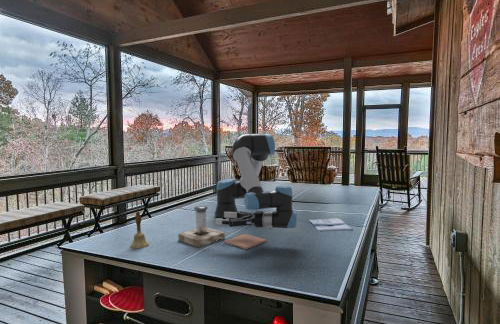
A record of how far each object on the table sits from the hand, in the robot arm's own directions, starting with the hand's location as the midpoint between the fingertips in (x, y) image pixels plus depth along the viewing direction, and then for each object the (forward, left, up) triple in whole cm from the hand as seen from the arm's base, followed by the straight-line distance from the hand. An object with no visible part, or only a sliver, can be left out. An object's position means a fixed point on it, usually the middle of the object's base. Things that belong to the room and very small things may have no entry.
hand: (220, 218), depth 145 cm
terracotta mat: (-5, +11, -11) cm, 17 cm away
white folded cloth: (-55, +29, -12) cm, 64 cm away
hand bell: (+29, -25, -11) cm, 39 cm away
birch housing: (+5, -9, -11) cm, 15 cm away
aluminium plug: (+5, -9, -11) cm, 15 cm away
